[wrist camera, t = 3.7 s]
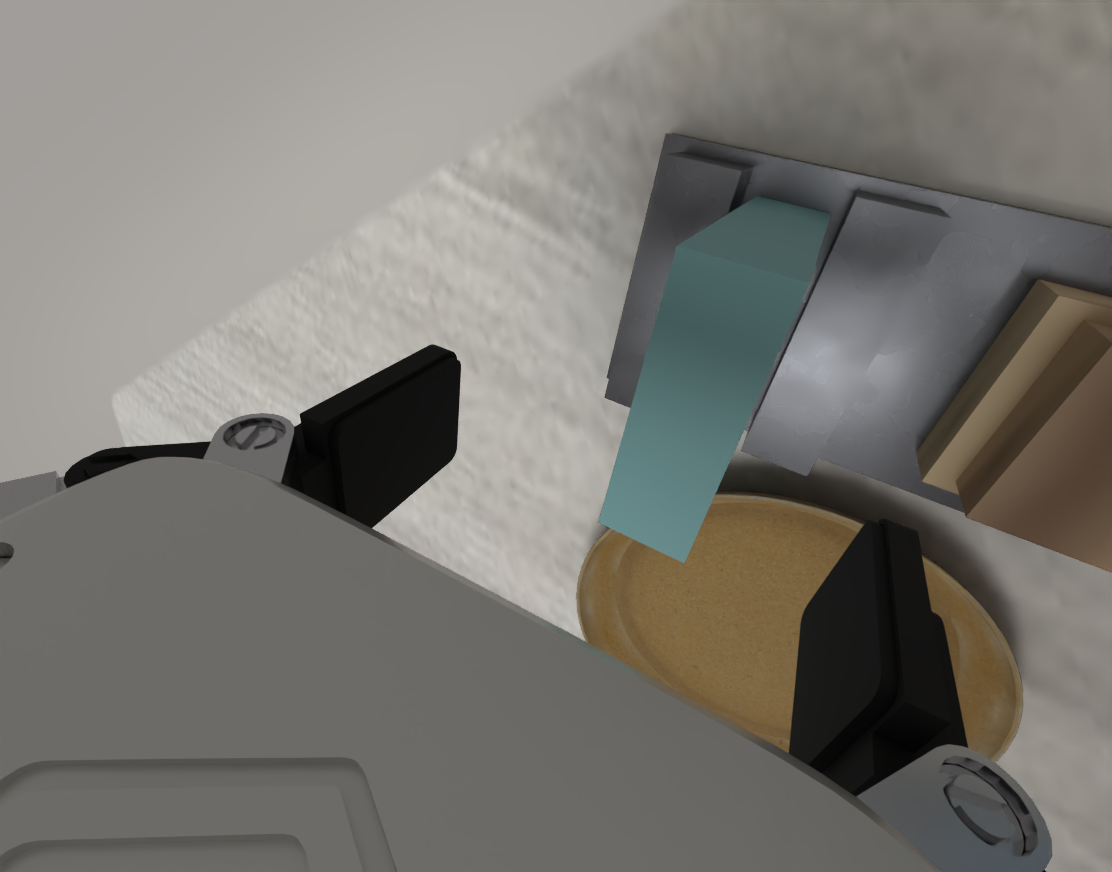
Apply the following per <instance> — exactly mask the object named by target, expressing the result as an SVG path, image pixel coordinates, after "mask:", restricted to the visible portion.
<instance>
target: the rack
mask: <svg viewBox="0 0 1112 872" xmlns="http://www.w3.org/2000/svg"><path fill="white" fill-rule="evenodd" d="M756 196H759V197H763V198H767V199H771V200H776V201H780V202H784V203H788V204H792V205H797V206H801V207H805V208H809V209H813V210H817V211H822V212H826V213H830V214H831V216H830V219H829V222H828V226H827V229H826V232H825V235H824V238H823V242H822V245H821V248H820V251H819V254H818V258H817V261H816V264H815V267H814V270H813V274H812V277H811V280H810V283H809V285H808V288H807V290H806V292H805V294H804V297H803V299H802V301H801V303H800V306H799V308H798V310H797V312H796V314H795V317H794V319H793V321H792V323H791V326H790V328H789V330H788V332H787V335H786V337H785V339H784V341H783V344H782V346H781V348H780V350H779V353H778V355H777V357H776V359H775V362H774V364H773V366H772V368H771V370H770V373H769V375H768V377H767V379H766V382H765V384H764V386H763V388H762V391H761V393H760V395H759V397H758V400H757V402H756V404H755V406H754V409H753V411H752V413H751V415H750V417H749V420H748V422H747V424H746V426H745V429H744V430H746V431H748V433H747V435H746V438H745V441H744V444H743V446H742V449H741V451H743V452H745V453H748V454H750V455H753V456H755V457H758V458H760V459H763V460H766V461H768V462H771V463H773V464H776V465H778V466H781V467H784V468H786V469H789V470H791V471H794V472H796V473H799V474H802V475H804V476H807V475H808V474H809V472H810V470H811V468H812V467H813V465H814V463H815V461H816V460H817V458H821V459H823V460H826V461H829V462H831V463H834V464H837V465H839V466H842V467H845V468H847V469H850V470H853V471H855V472H858V473H861V474H863V475H866V476H869V477H871V478H874V479H876V480H879V481H882V482H884V483H887V484H890V485H892V486H895V487H898V488H900V489H903V490H906V491H908V492H911V493H914V494H916V495H919V496H922V497H924V498H927V499H930V500H932V501H935V502H938V503H940V504H943V505H945V506H948V507H951V508H953V509H956V510H959V511H961V512H964V509H963V506H962V502H961V499H960V495H958V494H955V493H952V492H950V491H947V490H944V489H942V488H939V487H936V486H933V485H931V484H928V483H925V482H923V481H922V480H921V475H920V469H919V464H918V459H917V454H916V452H917V451H918V449H919V448H920V447H921V445H922V444H923V442H924V441H925V439H926V438H927V437H928V435H929V434H930V432H931V431H932V429H933V428H934V427H935V425H936V424H937V422H938V421H939V419H940V418H941V417H942V415H943V414H944V412H945V411H946V410H947V408H948V407H949V405H950V404H951V402H952V401H953V400H954V398H955V397H956V395H957V394H958V392H959V391H960V390H961V388H962V387H963V385H964V384H965V383H966V381H967V380H968V378H969V377H970V375H971V374H972V373H973V371H974V370H975V368H976V367H977V365H978V364H979V363H980V361H981V360H982V358H983V357H984V355H985V354H986V353H987V351H988V350H989V348H990V347H991V346H992V344H993V343H994V341H995V340H996V338H997V337H998V336H999V334H1000V333H1001V331H1002V330H1003V328H1004V327H1005V326H1006V324H1007V323H1008V321H1009V320H1010V318H1011V317H1012V316H1013V314H1014V313H1015V311H1016V310H1017V309H1018V307H1019V306H1020V304H1021V303H1022V301H1023V300H1024V299H1025V297H1026V296H1027V294H1028V293H1029V291H1030V290H1031V289H1032V287H1033V286H1034V284H1035V283H1036V281H1037V280H1038V279H1039V280H1044V281H1048V282H1052V283H1056V284H1060V285H1064V286H1068V287H1072V288H1076V289H1080V290H1084V291H1088V292H1092V293H1096V294H1100V295H1104V296H1108V297H1112V227H1108V226H1104V225H1099V224H1094V223H1090V222H1085V221H1080V220H1076V219H1071V218H1066V217H1061V216H1057V215H1052V214H1047V213H1043V212H1038V211H1033V210H1029V209H1024V208H1019V207H1015V206H1010V205H1005V204H1000V203H996V202H991V201H986V200H982V199H977V198H972V197H968V196H963V195H958V194H954V193H949V192H944V191H939V190H935V189H930V188H925V187H921V186H916V185H911V184H907V183H902V182H897V181H893V180H888V179H883V178H878V177H874V176H869V175H864V174H860V173H855V172H850V171H846V170H841V169H836V168H832V167H827V166H822V165H817V164H813V163H808V162H803V161H799V160H794V159H789V158H785V157H780V156H775V155H771V154H766V153H761V152H756V151H752V150H747V149H742V148H738V147H733V146H728V145H724V144H719V143H714V142H710V141H705V140H700V139H695V138H691V137H686V136H681V135H677V134H666V135H665V139H664V143H663V147H662V152H661V156H660V160H659V164H658V168H657V172H656V176H655V180H654V185H653V189H652V193H651V197H650V201H649V205H648V209H647V213H646V218H645V222H644V226H643V230H642V234H641V238H640V242H639V246H638V251H637V255H636V259H635V263H634V267H633V271H632V275H631V279H630V284H629V288H628V292H627V296H626V300H625V304H624V308H623V312H622V317H621V321H620V325H619V329H618V333H617V337H616V341H615V345H614V350H613V354H612V358H611V362H610V366H609V370H608V374H607V378H608V379H609V381H608V385H607V389H606V393H605V398H607V399H609V400H612V401H614V402H617V403H619V404H622V405H624V406H627V407H630V408H631V405H632V402H633V398H634V395H635V391H636V388H637V384H638V381H639V377H640V374H641V370H642V367H643V363H644V359H645V356H646V352H647V349H648V345H649V342H650V338H651V335H652V331H653V328H654V324H655V321H656V317H657V314H658V310H659V307H660V303H661V300H662V296H663V293H664V289H665V286H666V282H667V278H668V275H669V271H670V268H671V264H672V261H673V257H674V254H675V250H676V247H677V245H679V244H681V243H682V242H684V241H685V240H687V239H689V238H690V237H692V236H694V235H695V234H697V233H698V232H700V231H702V230H703V229H705V228H706V227H708V226H710V225H711V224H713V223H714V222H716V221H718V220H719V219H721V218H722V217H724V216H726V215H727V214H729V213H731V212H732V211H734V210H735V209H737V208H739V207H740V206H742V205H743V204H745V203H747V202H748V201H750V200H751V199H753V198H755V197H756Z"/></svg>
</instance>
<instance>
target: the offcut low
mask: <svg viewBox="0 0 1112 872" xmlns="http://www.w3.org/2000/svg"><path fill="white" fill-rule="evenodd" d="M1083 320H1088V321H1091V322H1095V323H1099V324H1103V325H1107V326H1111V327H1112V297H1108V296H1104V295H1100V294H1096V293H1092V292H1088V291H1084V290H1080V289H1076V288H1072V287H1068V286H1064V285H1060V284H1056V283H1052V282H1048V281H1044V280H1039V279H1038V280H1037V281H1036V283H1035V284H1034V286H1033V287H1032V289H1031V290H1030V291H1029V293H1028V294H1027V296H1026V297H1025V299H1024V300H1023V301H1022V303H1021V304H1020V306H1019V307H1018V309H1017V310H1016V311H1015V313H1014V314H1013V316H1012V317H1011V318H1010V320H1009V321H1008V323H1007V324H1006V326H1005V327H1004V328H1003V330H1002V331H1001V333H1000V334H999V336H998V337H997V338H996V340H995V341H994V343H993V344H992V346H991V347H990V348H989V350H988V351H987V353H986V354H985V355H984V357H983V358H982V360H981V361H980V363H979V364H978V365H977V367H976V368H975V370H974V371H973V373H972V374H971V375H970V377H969V378H968V380H967V381H966V383H965V384H964V385H963V387H962V388H961V390H960V391H959V392H958V394H957V395H956V397H955V398H954V400H953V401H952V402H951V404H950V405H949V407H948V408H947V410H946V411H945V412H944V414H943V415H942V417H941V418H940V419H939V421H938V422H937V424H936V425H935V427H934V428H933V429H932V431H931V432H930V434H929V435H928V437H927V438H926V439H925V441H924V442H923V444H922V445H921V447H920V448H919V449H918V451H917V452H916V454H917V459H918V464H919V469H920V475H921V480H922V481H923V482H925V483H928V484H931V485H933V486H936V487H939V488H942V489H944V490H947V491H950V492H952V493H955V494H958V495H959V492H958V488H957V485H956V481H957V479H958V478H959V477H960V476H961V474H962V473H963V472H964V471H965V469H966V468H967V467H968V465H969V464H970V463H971V462H972V460H973V459H974V458H975V457H976V455H977V454H978V453H979V452H980V450H981V449H982V448H983V447H984V445H985V444H986V443H987V441H988V440H989V439H990V438H991V436H992V435H993V434H994V433H995V431H996V430H997V429H998V428H999V426H1000V425H1001V424H1002V422H1003V421H1004V420H1005V419H1006V417H1007V416H1008V415H1009V414H1010V412H1011V411H1012V410H1013V409H1014V407H1015V406H1016V405H1017V404H1018V402H1019V401H1020V400H1021V398H1022V397H1023V396H1024V395H1025V393H1026V392H1027V391H1028V390H1029V388H1030V387H1031V386H1032V385H1033V383H1034V382H1035V381H1036V379H1037V378H1038V377H1039V376H1040V374H1041V373H1042V372H1043V371H1044V369H1045V368H1046V367H1047V366H1048V364H1049V363H1050V362H1051V361H1052V359H1053V358H1054V357H1055V355H1056V354H1057V353H1058V352H1059V350H1060V349H1061V348H1062V347H1063V345H1064V344H1065V343H1066V342H1067V340H1068V339H1069V338H1070V336H1071V335H1072V334H1073V333H1074V331H1075V330H1076V329H1077V328H1078V326H1079V325H1080V324H1081V323H1082V321H1083Z"/></svg>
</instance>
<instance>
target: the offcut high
mask: <svg viewBox="0 0 1112 872" xmlns="http://www.w3.org/2000/svg"><path fill="white" fill-rule="evenodd" d="M956 485H957V488H958V492H959V495H960V499H961V502H962V506H963V509H964V513H965V516H966V518H969V519H972V520H974V521H977V522H980V523H982V524H985V525H987V526H990V527H993V528H995V529H998V530H1001V531H1003V532H1006V533H1009V534H1011V535H1014V536H1016V537H1019V538H1022V539H1024V540H1027V541H1030V542H1032V543H1035V544H1038V545H1040V546H1043V547H1045V548H1048V549H1051V550H1053V551H1056V552H1059V553H1061V554H1064V555H1067V556H1069V557H1072V558H1075V559H1077V560H1080V561H1082V562H1085V563H1088V564H1090V565H1093V566H1096V567H1098V568H1101V569H1104V570H1106V571H1109V572H1111V573H1112V327H1111V326H1107V325H1103V324H1099V323H1095V322H1091V321H1088V320H1083V321H1082V323H1081V324H1080V325H1079V326H1078V328H1077V329H1076V330H1075V331H1074V333H1073V334H1072V335H1071V336H1070V338H1069V339H1068V340H1067V342H1066V343H1065V344H1064V345H1063V347H1062V348H1061V349H1060V350H1059V352H1058V353H1057V354H1056V355H1055V357H1054V358H1053V359H1052V361H1051V362H1050V363H1049V364H1048V366H1047V367H1046V368H1045V369H1044V371H1043V372H1042V373H1041V374H1040V376H1039V377H1038V378H1037V379H1036V381H1035V382H1034V383H1033V385H1032V386H1031V387H1030V388H1029V390H1028V391H1027V392H1026V393H1025V395H1024V396H1023V397H1022V398H1021V400H1020V401H1019V402H1018V404H1017V405H1016V406H1015V407H1014V409H1013V410H1012V411H1011V412H1010V414H1009V415H1008V416H1007V417H1006V419H1005V420H1004V421H1003V422H1002V424H1001V425H1000V426H999V428H998V429H997V430H996V431H995V433H994V434H993V435H992V436H991V438H990V439H989V440H988V441H987V443H986V444H985V445H984V447H983V448H982V449H981V450H980V452H979V453H978V454H977V455H976V457H975V458H974V459H973V460H972V462H971V463H970V464H969V465H968V467H967V468H966V469H965V471H964V472H963V473H962V474H961V476H960V477H959V478H958V479H957V481H956Z"/></svg>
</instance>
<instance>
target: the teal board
mask: <svg viewBox="0 0 1112 872" xmlns="http://www.w3.org/2000/svg"><path fill="white" fill-rule="evenodd" d="M830 216H831V214H830V213H826V212H822V211H817V210H813V209H809V208H805V207H801V206H797V205H792V204H788V203H784V202H780V201H776V200H771V199H767V198H763V197H759V196H756V197H755V198H753V199H751V200H750V201H748V202H747V203H745V204H743V205H742V206H740V207H739V208H737V209H735V210H734V211H732V212H731V213H729V214H727V215H726V216H724V217H722V218H721V219H719V220H718V221H716V222H714V223H713V224H711V225H710V226H708V227H706V228H705V229H703V230H702V231H700V232H698V233H697V234H695V235H694V236H692V237H690V238H689V239H687V240H685V241H684V242H682V243H681V244H679V245H677V247H676V250H675V254H674V257H673V261H672V264H671V268H670V271H669V275H668V278H667V282H666V286H665V289H664V293H663V296H662V300H661V303H660V307H659V310H658V314H657V317H656V321H655V324H654V328H653V331H652V335H651V338H650V342H649V345H648V349H647V352H646V356H645V359H644V363H643V367H642V370H641V374H640V377H639V381H638V384H637V388H636V391H635V395H634V398H633V402H632V405H631V409H630V412H629V416H628V419H627V423H626V426H625V430H624V433H623V437H622V440H621V444H620V448H619V451H618V455H617V458H616V462H615V465H614V469H613V472H612V476H611V479H610V483H609V486H608V490H607V493H606V497H605V500H604V504H603V507H602V511H601V514H600V518H599V521H598V523H600V524H602V525H604V526H606V527H608V528H610V529H613V530H615V531H617V532H619V533H621V534H623V535H625V536H627V537H630V538H632V539H634V540H636V541H638V542H640V543H642V544H644V545H647V546H649V547H651V548H653V549H655V550H657V551H659V552H661V553H664V554H666V555H668V556H670V557H672V558H674V559H676V560H678V561H681V562H683V563H685V561H686V559H687V556H688V554H689V552H690V550H691V547H692V545H693V543H694V541H695V538H696V536H697V534H698V532H699V529H700V527H701V525H702V523H703V520H704V518H705V516H706V514H707V512H708V509H709V507H710V505H711V503H712V500H713V498H714V496H715V494H716V491H717V489H718V487H719V485H720V482H721V480H722V478H723V476H724V473H725V471H726V469H727V467H728V465H729V462H730V460H731V458H732V456H733V453H734V451H735V449H736V447H737V444H738V442H739V440H740V438H741V435H742V433H743V431H744V429H745V426H746V424H747V422H748V420H749V417H750V415H751V413H752V411H753V409H754V406H755V404H756V402H757V400H758V397H759V395H760V393H761V391H762V388H763V386H764V384H765V382H766V379H767V377H768V375H769V373H770V370H771V368H772V366H773V364H774V362H775V359H776V357H777V355H778V353H779V350H780V348H781V346H782V344H783V341H784V339H785V337H786V335H787V332H788V330H789V328H790V326H791V323H792V321H793V319H794V317H795V314H796V312H797V310H798V308H799V306H800V303H801V301H802V299H803V297H804V294H805V292H806V290H807V288H808V285H809V283H810V280H811V277H812V274H813V270H814V267H815V264H816V261H817V258H818V254H819V251H820V248H821V245H822V242H823V238H824V235H825V232H826V229H827V226H828V222H829V219H830Z"/></svg>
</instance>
